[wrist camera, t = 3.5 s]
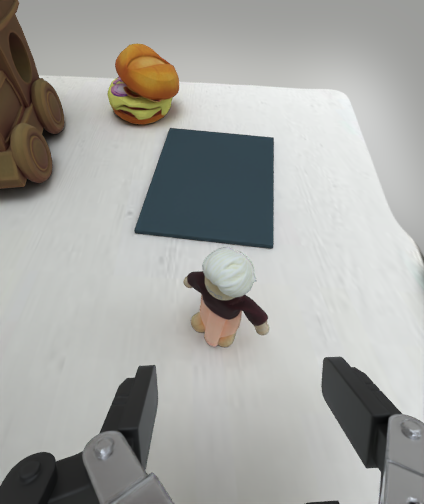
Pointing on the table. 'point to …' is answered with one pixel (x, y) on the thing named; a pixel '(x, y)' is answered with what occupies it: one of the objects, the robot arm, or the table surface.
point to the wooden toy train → (23, 107)
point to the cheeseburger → (142, 85)
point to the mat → (212, 189)
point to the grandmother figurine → (225, 297)
